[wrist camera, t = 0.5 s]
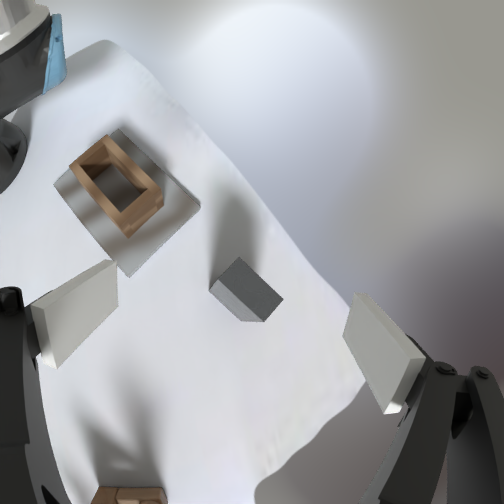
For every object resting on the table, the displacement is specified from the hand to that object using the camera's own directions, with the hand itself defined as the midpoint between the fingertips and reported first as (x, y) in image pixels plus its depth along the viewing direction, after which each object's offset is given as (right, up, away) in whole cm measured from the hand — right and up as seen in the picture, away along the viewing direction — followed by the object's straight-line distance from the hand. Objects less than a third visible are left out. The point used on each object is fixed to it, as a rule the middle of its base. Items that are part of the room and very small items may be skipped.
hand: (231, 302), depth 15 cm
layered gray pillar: (-2, -4, +24) cm, 24 cm away
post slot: (-18, +11, +23) cm, 32 cm away
